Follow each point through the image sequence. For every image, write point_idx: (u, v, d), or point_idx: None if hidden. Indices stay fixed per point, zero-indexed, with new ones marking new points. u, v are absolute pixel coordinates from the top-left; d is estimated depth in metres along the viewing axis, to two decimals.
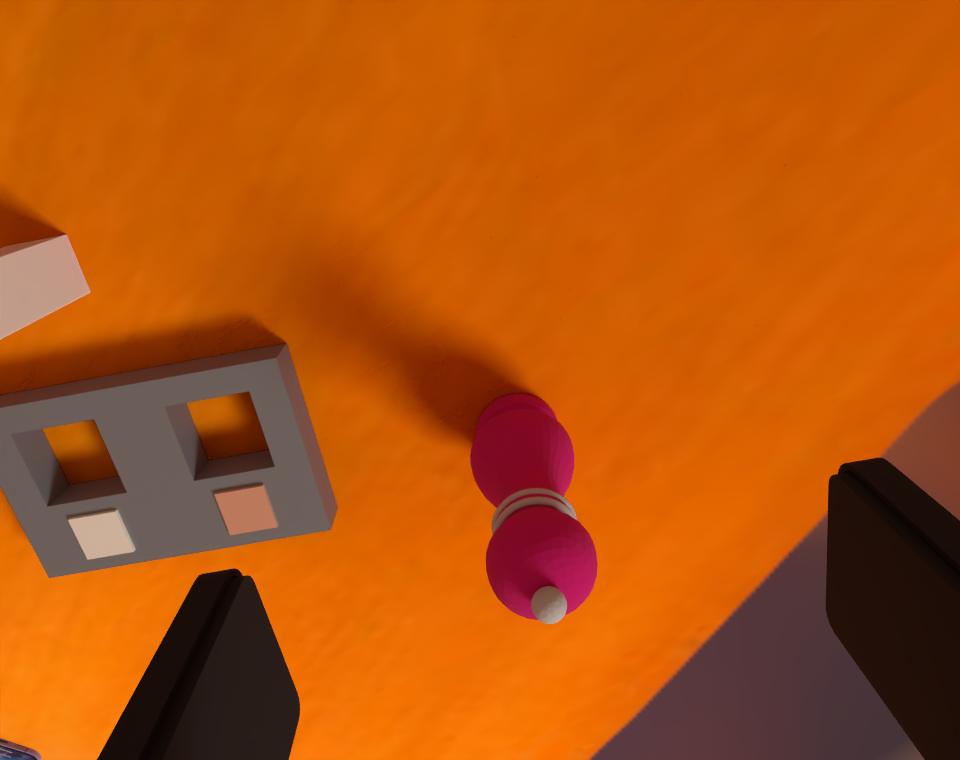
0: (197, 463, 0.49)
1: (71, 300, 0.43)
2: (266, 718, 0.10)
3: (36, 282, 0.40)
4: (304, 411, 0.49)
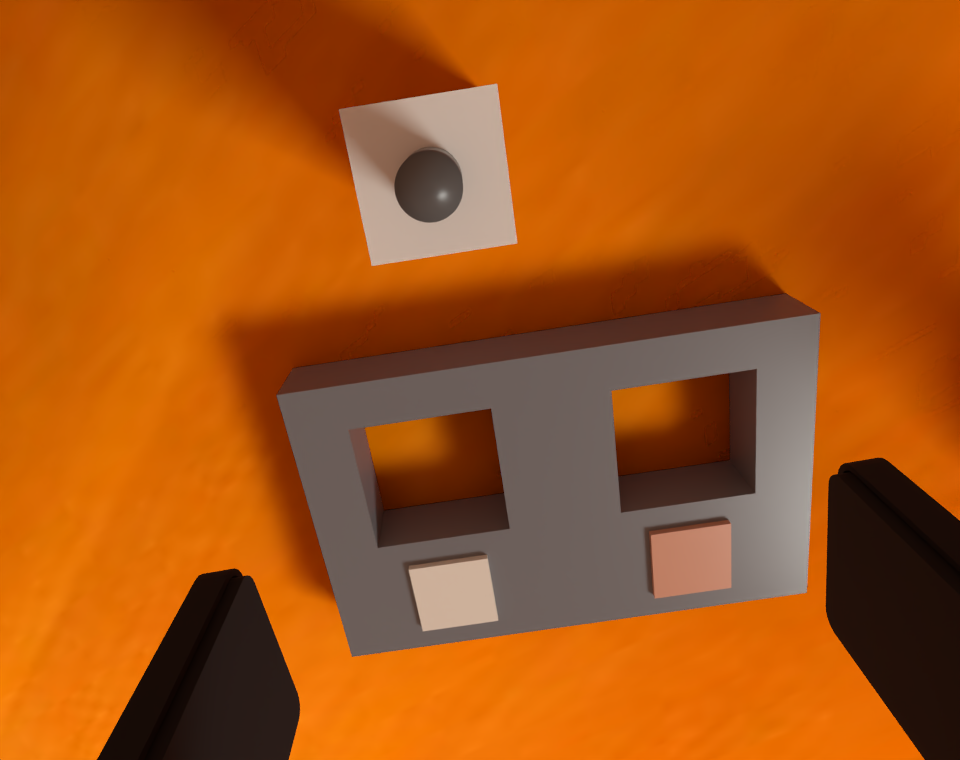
0: None
1: None
2: (266, 718, 0.10)
3: None
4: None
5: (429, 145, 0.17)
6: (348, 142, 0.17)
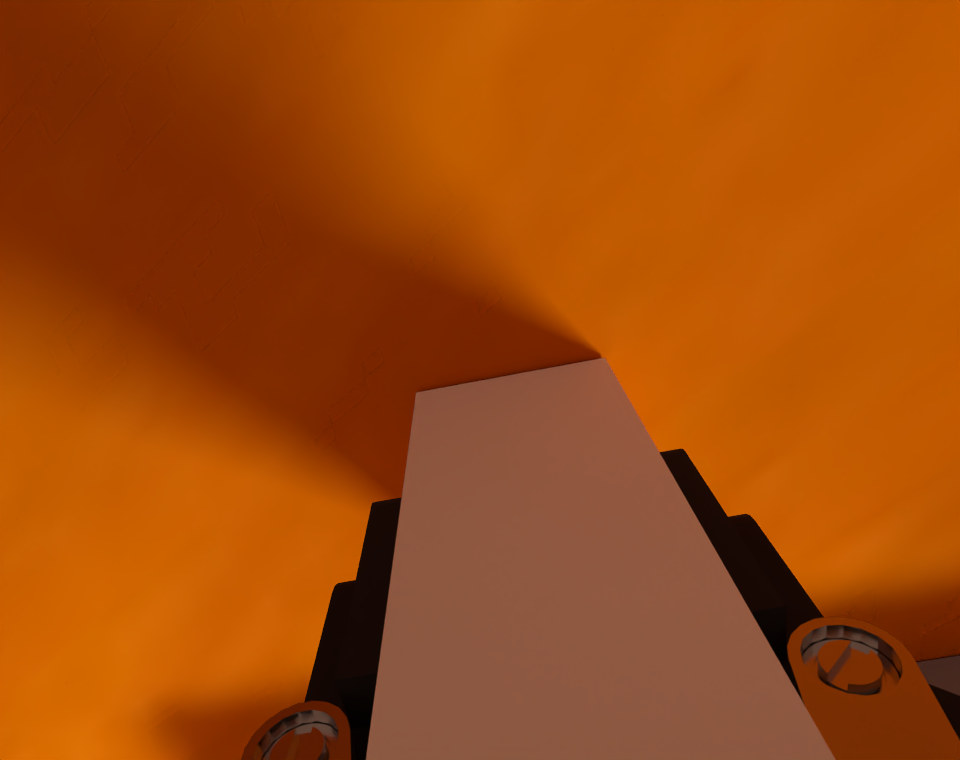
0: None
1: None
2: None
3: None
4: None
5: None
6: None
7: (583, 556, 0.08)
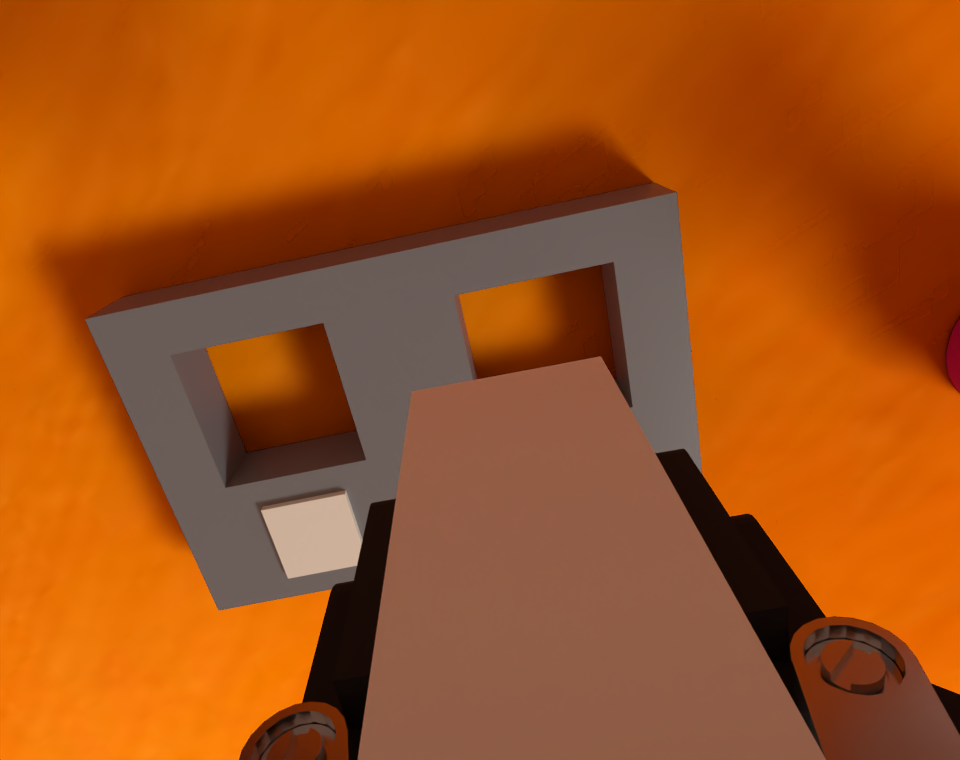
0: None
1: None
2: None
3: None
4: None
5: None
6: None
7: (577, 556, 0.08)
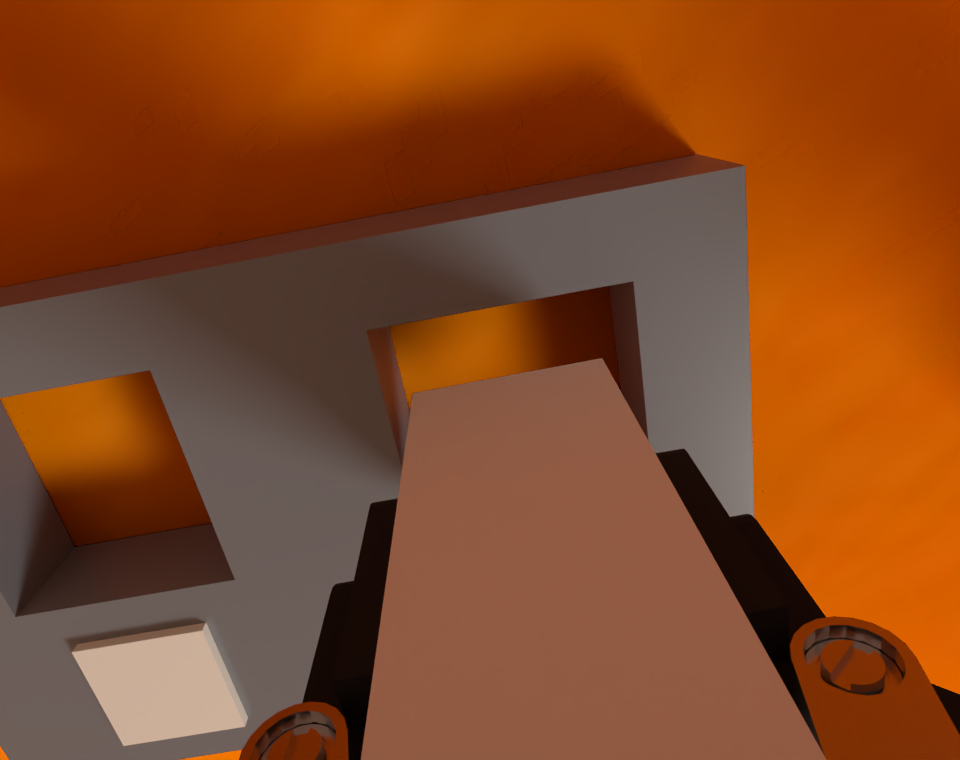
0: None
1: None
2: None
3: None
4: None
5: None
6: None
7: (579, 559, 0.08)
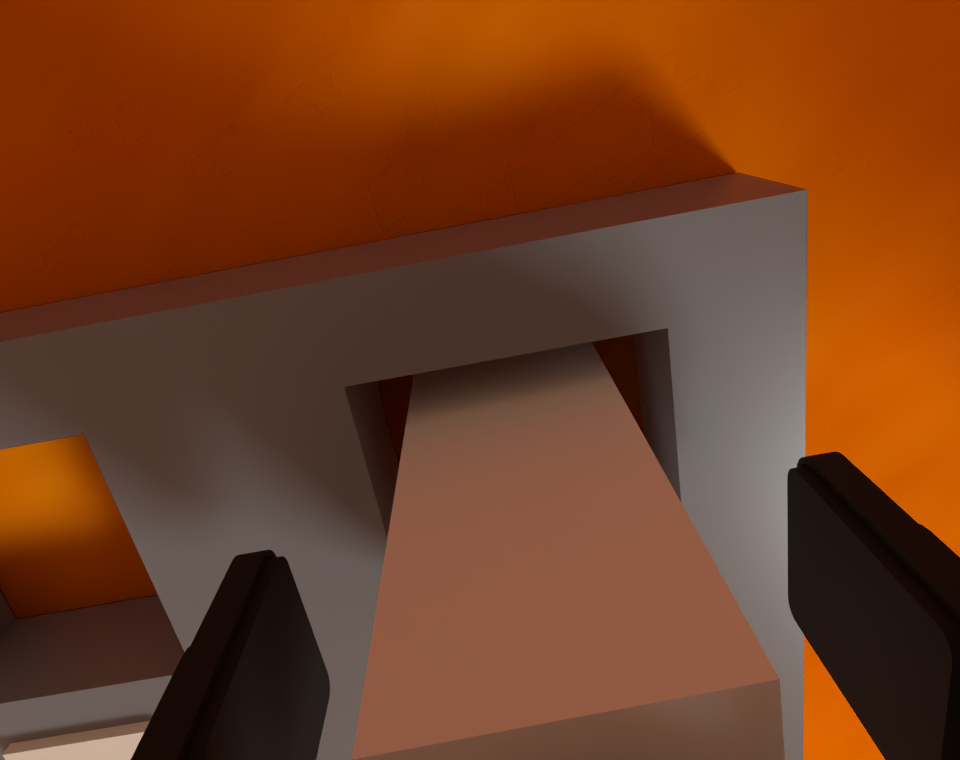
0: None
1: None
2: (301, 694, 0.10)
3: None
4: None
5: None
6: None
7: (554, 486, 0.10)
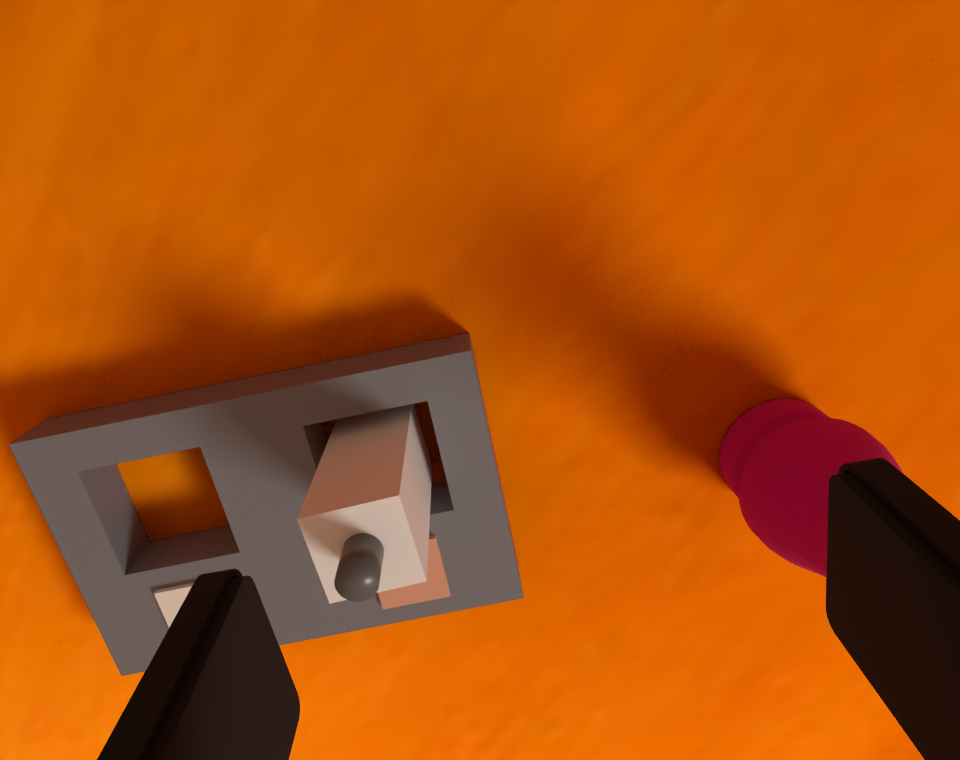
0: None
1: (430, 485, 0.34)
2: (266, 718, 0.10)
3: (418, 478, 0.31)
4: (489, 430, 0.35)
5: (359, 533, 0.26)
6: (305, 537, 0.26)
7: (370, 458, 0.29)
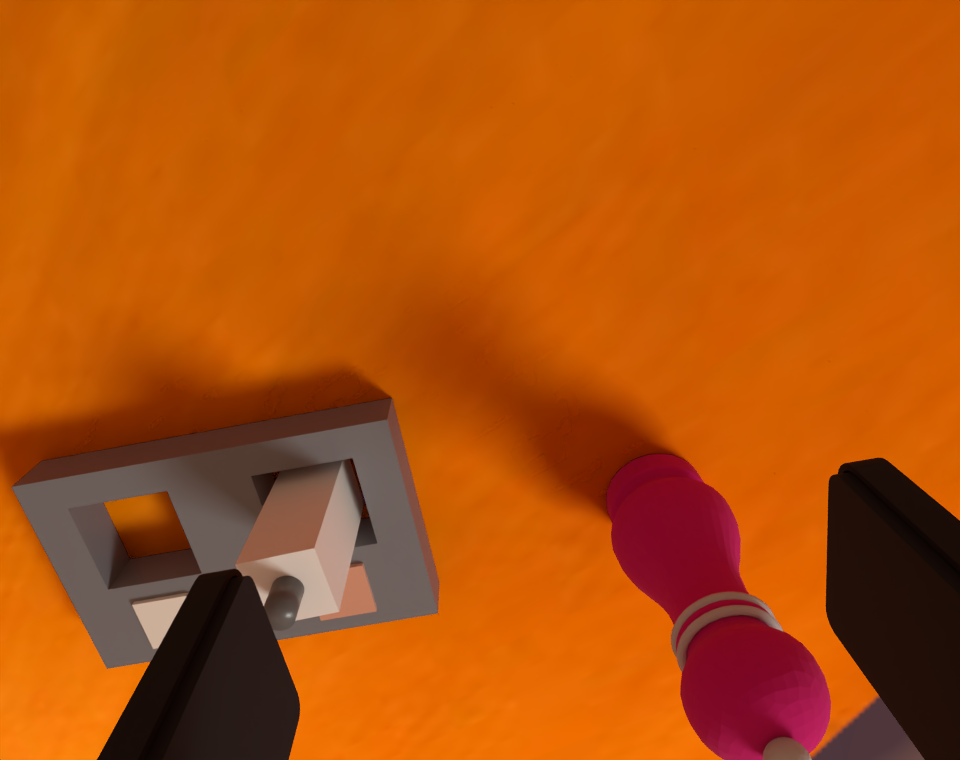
0: None
1: (359, 522, 0.41)
2: (266, 718, 0.10)
3: (343, 522, 0.38)
4: (409, 476, 0.42)
5: (284, 575, 0.33)
6: None
7: (301, 509, 0.36)
